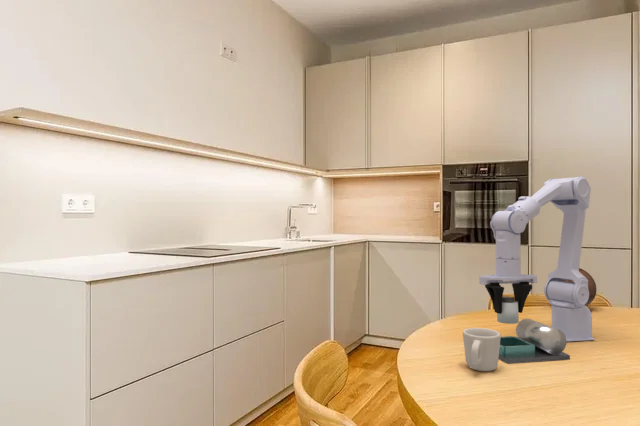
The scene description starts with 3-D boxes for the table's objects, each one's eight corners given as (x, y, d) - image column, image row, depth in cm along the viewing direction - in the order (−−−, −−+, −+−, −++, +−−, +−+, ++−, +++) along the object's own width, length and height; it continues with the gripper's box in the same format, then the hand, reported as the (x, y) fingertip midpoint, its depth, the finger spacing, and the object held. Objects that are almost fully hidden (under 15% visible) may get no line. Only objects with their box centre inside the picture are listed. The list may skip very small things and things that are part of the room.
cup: (494, 381, 92) (494, 342, 92) (455, 374, 96) (455, 336, 96) (503, 365, 101) (503, 330, 101) (467, 359, 106) (467, 326, 106)
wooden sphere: (559, 302, 171) (558, 263, 171) (603, 308, 159) (602, 266, 160) (541, 308, 162) (540, 266, 162) (586, 315, 150) (586, 270, 150)
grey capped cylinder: (512, 318, 116) (512, 295, 116) (522, 323, 111) (521, 299, 111) (493, 319, 115) (493, 296, 115) (502, 324, 110) (502, 299, 110)
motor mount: (534, 343, 118) (534, 317, 118) (569, 359, 105) (569, 329, 105) (478, 347, 116) (478, 319, 116) (507, 363, 103) (506, 333, 103)
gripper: (524, 256, 118) (525, 308, 118) (473, 257, 116) (473, 310, 116) (542, 258, 111) (542, 313, 111) (487, 260, 109) (487, 316, 109)
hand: (508, 312), depth 113 cm, fingers closed on grey capped cylinder, 5 cm apart
